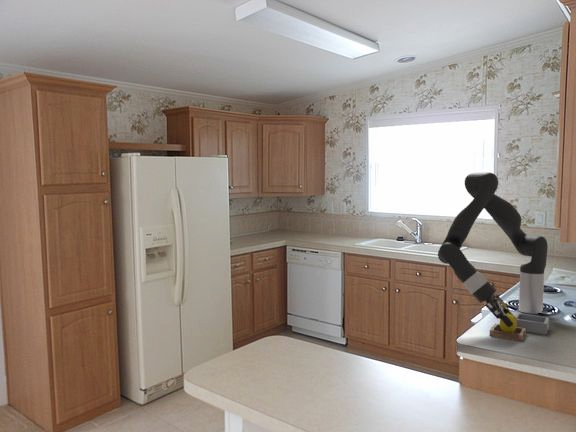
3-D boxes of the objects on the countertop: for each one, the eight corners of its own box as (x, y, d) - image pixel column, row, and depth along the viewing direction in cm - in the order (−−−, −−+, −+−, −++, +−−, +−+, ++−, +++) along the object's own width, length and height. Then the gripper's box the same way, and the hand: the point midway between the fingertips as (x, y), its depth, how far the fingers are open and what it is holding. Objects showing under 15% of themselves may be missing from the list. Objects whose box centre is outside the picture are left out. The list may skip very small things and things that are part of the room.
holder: (516, 322, 180) (517, 312, 180) (548, 327, 174) (549, 317, 174) (512, 329, 171) (513, 318, 171) (546, 334, 165) (546, 323, 165)
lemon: (501, 331, 168) (502, 310, 168) (518, 334, 165) (518, 312, 164) (497, 335, 164) (498, 313, 163) (514, 338, 160) (515, 315, 160)
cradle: (494, 328, 171) (494, 323, 171) (525, 333, 166) (525, 328, 166) (489, 335, 163) (489, 330, 163) (522, 341, 157) (522, 335, 157)
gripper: (483, 283, 161) (518, 321, 156) (490, 277, 173) (524, 312, 167) (467, 296, 165) (501, 334, 159) (475, 289, 177) (507, 324, 171)
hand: (512, 323), depth 163 cm, fingers open, 7 cm apart
